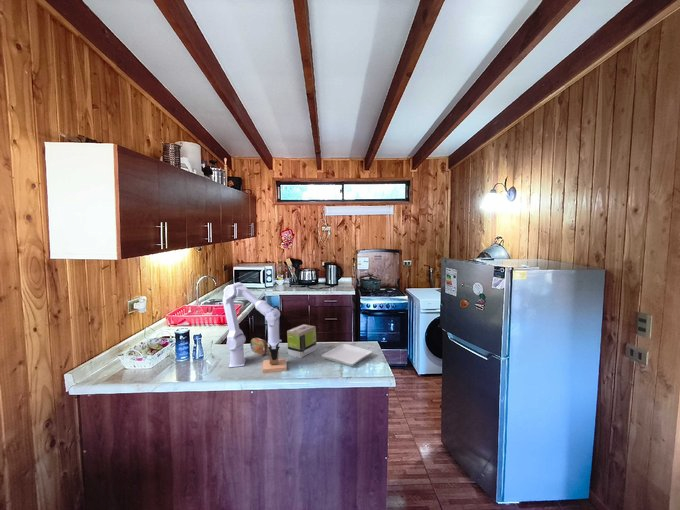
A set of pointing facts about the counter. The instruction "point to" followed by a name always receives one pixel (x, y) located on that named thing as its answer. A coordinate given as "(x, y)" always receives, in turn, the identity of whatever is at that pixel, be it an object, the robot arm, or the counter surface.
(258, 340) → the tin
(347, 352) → the salad plate
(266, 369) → the terracotta trivet
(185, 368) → the counter surface
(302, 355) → the tea box
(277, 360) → the walnut block
